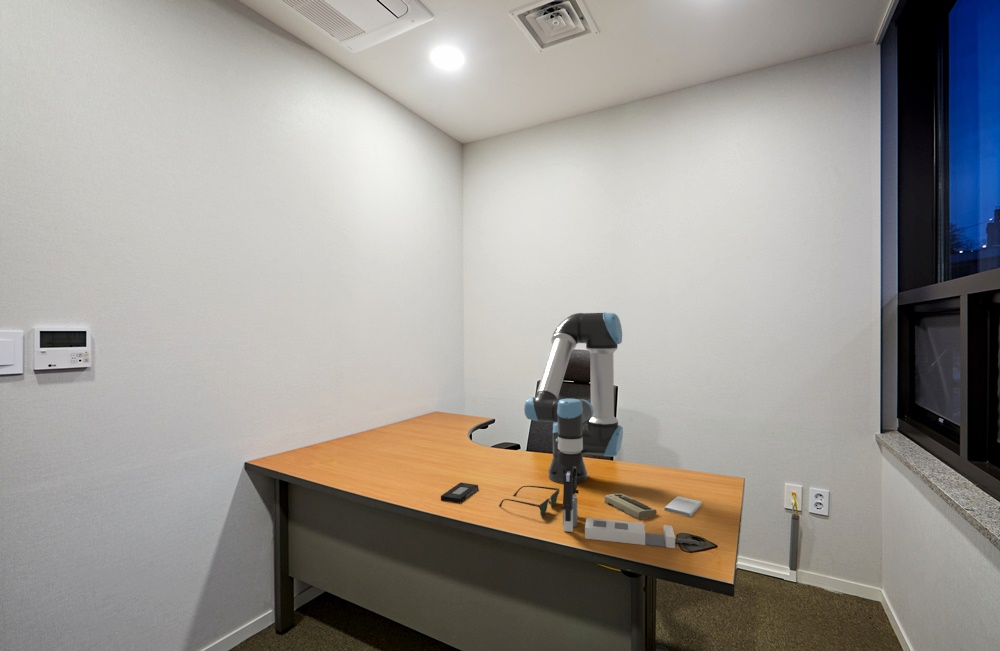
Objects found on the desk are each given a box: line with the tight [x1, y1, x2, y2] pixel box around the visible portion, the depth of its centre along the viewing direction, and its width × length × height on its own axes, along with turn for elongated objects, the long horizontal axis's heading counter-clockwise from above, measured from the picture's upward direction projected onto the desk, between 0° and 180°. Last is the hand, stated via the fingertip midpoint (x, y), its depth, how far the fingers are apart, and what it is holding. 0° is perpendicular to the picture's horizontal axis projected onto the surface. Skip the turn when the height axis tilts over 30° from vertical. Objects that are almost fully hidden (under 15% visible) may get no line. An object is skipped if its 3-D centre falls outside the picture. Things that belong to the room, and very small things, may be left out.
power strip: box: [584, 517, 698, 549], centre depth 129 cm, size 7×30×3 cm, turn 76°
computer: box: [603, 493, 658, 521], centre depth 150 cm, size 16×8×3 cm, turn 29°
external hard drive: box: [663, 495, 703, 518], centre depth 151 cm, size 2×8×12 cm
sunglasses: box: [498, 485, 560, 517], centre depth 153 cm, size 16×17×5 cm
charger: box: [562, 497, 578, 528], centre depth 139 cm, size 4×4×7 cm
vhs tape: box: [440, 482, 479, 504], centre depth 163 cm, size 8×14×2 cm, turn 157°
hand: (570, 522), depth 139 cm, fingers open, 11 cm apart
